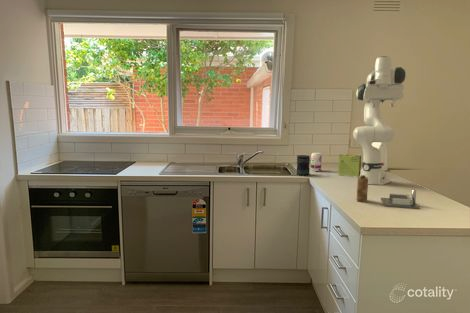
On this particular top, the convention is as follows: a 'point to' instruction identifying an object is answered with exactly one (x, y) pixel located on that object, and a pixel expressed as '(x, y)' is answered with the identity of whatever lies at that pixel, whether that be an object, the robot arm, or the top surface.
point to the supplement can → (316, 161)
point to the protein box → (349, 165)
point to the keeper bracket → (401, 201)
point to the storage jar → (303, 165)
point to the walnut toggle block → (362, 188)
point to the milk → (382, 153)
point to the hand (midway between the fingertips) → (382, 107)
